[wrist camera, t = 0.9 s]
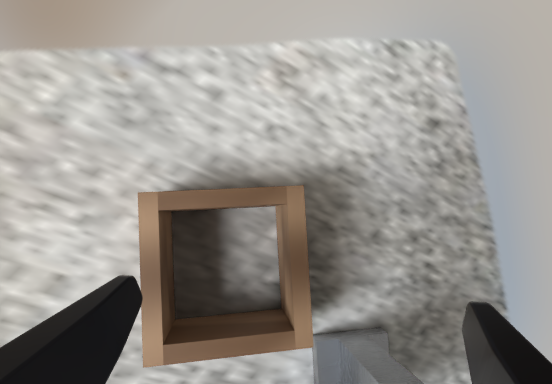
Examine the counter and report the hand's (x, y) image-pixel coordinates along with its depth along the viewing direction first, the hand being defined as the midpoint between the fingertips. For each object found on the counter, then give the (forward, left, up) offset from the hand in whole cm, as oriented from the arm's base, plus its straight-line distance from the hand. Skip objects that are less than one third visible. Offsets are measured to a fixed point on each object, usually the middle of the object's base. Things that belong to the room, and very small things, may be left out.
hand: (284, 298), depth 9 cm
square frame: (-1, +2, -14) cm, 14 cm away
